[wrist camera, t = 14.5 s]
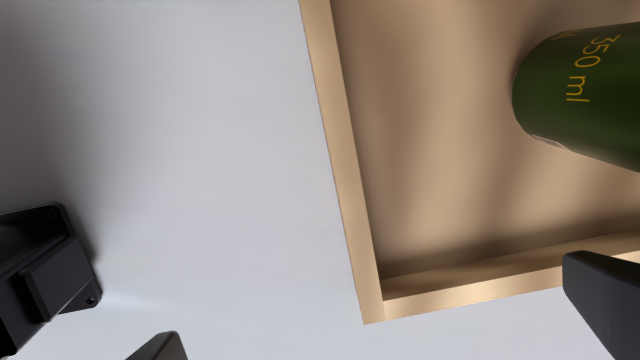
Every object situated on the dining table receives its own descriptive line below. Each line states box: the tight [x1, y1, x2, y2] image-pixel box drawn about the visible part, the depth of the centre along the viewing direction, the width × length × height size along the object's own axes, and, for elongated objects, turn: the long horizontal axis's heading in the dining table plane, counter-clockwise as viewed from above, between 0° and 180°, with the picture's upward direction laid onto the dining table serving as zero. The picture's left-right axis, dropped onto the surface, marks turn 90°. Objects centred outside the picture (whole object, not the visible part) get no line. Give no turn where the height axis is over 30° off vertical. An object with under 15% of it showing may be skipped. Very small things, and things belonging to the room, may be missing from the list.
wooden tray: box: [298, 0, 640, 325], centre depth 19 cm, size 18×18×3 cm
